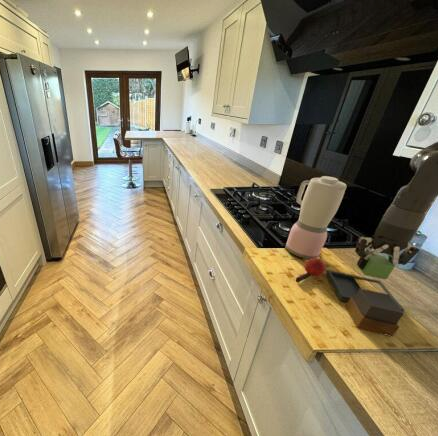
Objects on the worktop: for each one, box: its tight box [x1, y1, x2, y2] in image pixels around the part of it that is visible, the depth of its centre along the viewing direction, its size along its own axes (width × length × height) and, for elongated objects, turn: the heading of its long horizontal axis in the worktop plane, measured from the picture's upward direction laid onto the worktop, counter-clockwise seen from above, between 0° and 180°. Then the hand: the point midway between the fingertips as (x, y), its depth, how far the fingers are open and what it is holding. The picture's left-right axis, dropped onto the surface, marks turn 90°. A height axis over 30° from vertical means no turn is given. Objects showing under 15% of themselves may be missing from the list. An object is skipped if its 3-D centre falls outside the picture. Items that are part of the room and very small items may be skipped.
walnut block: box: [345, 297, 401, 337], centre depth 66 cm, size 8×8×4 cm
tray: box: [325, 269, 405, 312], centre depth 77 cm, size 16×14×2 cm
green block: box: [356, 254, 396, 280], centre depth 72 cm, size 6×6×5 cm
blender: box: [284, 175, 348, 261], centre depth 92 cm, size 16×12×32 cm
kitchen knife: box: [295, 266, 327, 283], centre depth 84 cm, size 18×1×2 cm, turn 117°
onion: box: [304, 256, 326, 277], centre depth 83 cm, size 6×6×8 cm
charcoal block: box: [354, 287, 405, 324], centre depth 65 cm, size 7×7×4 cm
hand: (372, 269), depth 73 cm, fingers closed on green block, 5 cm apart
